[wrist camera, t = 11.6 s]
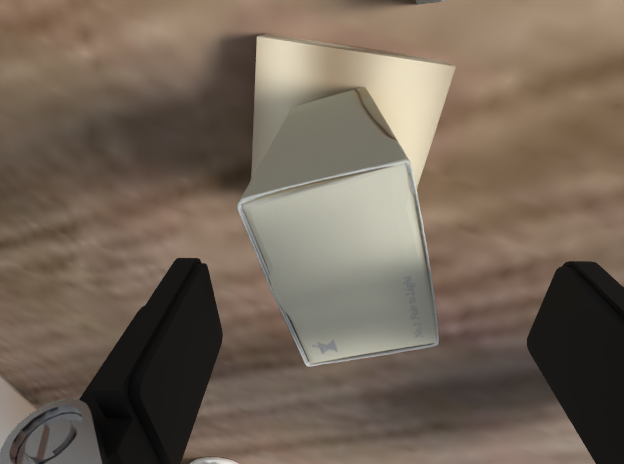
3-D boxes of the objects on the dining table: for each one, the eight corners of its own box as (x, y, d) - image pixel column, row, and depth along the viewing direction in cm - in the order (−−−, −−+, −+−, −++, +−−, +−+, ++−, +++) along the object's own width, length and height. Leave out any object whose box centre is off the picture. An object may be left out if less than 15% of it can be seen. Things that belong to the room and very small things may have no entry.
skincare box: (386, 189, 21) (447, 351, 10) (315, 206, 22) (305, 374, 11) (365, 80, 18) (422, 155, 7) (283, 104, 19) (229, 203, 8)
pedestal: (434, 58, 21) (455, 66, 17) (392, 204, 26) (402, 233, 23) (268, 33, 20) (256, 36, 17) (259, 187, 26) (249, 213, 22)
